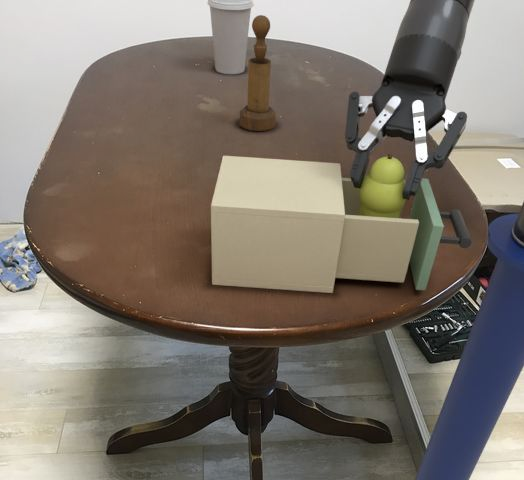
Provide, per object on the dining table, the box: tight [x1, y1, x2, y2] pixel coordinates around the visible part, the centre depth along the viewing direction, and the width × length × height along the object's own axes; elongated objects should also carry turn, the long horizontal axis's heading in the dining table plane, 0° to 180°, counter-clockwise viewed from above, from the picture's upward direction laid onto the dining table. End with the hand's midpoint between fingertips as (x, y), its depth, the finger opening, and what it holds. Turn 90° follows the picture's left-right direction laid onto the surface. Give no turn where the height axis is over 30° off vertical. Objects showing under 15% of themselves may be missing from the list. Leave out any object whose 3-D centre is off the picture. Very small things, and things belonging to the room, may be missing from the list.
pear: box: [359, 152, 407, 218], centre depth 69 cm, size 6×6×8 cm
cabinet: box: [210, 155, 345, 294], centre depth 73 cm, size 15×13×11 cm
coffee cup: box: [207, 0, 254, 75], centre depth 126 cm, size 10×10×15 cm
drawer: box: [335, 177, 473, 291], centre depth 73 cm, size 18×12×9 cm, turn 87°
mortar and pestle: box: [239, 14, 277, 132], centre depth 103 cm, size 7×6×18 cm
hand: (381, 191), depth 68 cm, fingers closed on pear, 5 cm apart
